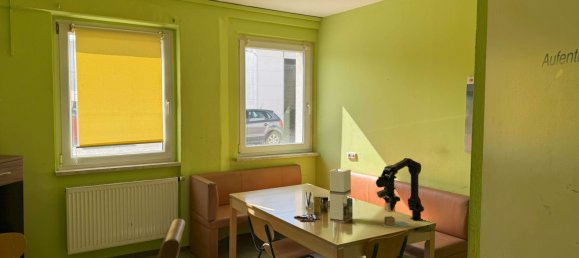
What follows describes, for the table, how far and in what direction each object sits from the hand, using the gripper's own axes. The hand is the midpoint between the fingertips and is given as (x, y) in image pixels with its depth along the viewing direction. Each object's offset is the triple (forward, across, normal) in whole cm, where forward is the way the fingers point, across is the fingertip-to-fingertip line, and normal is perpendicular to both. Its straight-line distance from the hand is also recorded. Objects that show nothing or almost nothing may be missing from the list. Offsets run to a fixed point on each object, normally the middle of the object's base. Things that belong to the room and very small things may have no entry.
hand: (389, 209), depth 280 cm
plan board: (+11, 0, +4) cm, 12 cm away
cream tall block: (+12, -23, -26) cm, 36 cm away
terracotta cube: (+1, 0, 0) cm, 1 cm away
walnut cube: (+10, 0, 0) cm, 10 cm away
